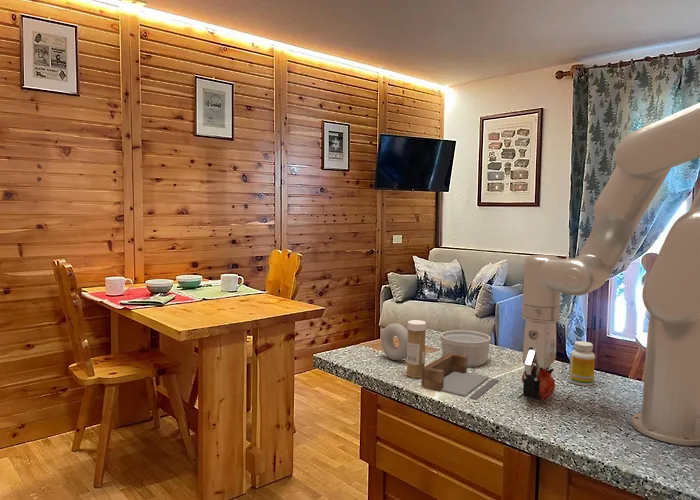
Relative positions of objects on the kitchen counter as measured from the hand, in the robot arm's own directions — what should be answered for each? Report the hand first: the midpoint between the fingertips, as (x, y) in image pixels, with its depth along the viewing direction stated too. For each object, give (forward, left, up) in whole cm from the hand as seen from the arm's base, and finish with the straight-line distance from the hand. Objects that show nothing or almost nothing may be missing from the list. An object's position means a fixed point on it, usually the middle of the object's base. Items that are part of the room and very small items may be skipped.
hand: (536, 391), depth 113 cm
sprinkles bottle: (+28, +3, -2) cm, 28 cm away
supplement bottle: (-6, -17, -2) cm, 18 cm away
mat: (+17, +2, -1) cm, 17 cm away
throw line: (+11, +2, -1) cm, 11 cm away
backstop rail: (+21, +1, -1) cm, 21 cm away
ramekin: (+23, -16, -2) cm, 28 cm away
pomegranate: (0, 0, -2) cm, 2 cm away
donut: (+38, -5, -2) cm, 38 cm away
